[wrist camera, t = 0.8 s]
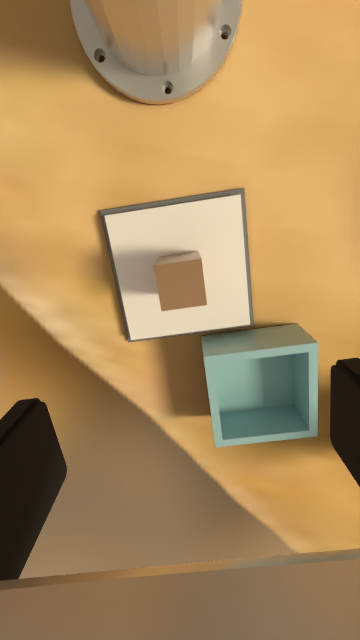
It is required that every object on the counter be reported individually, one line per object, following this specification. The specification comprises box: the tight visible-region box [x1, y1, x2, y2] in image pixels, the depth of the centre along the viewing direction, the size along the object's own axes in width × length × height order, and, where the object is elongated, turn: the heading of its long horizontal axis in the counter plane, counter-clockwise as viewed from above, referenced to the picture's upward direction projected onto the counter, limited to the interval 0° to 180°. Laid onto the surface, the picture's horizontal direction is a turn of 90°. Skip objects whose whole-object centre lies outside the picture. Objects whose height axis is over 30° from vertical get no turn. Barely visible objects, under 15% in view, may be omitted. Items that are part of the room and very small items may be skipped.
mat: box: [100, 188, 254, 342], centre depth 29 cm, size 13×13×1 cm
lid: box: [105, 194, 250, 340], centre depth 26 cm, size 12×12×6 cm
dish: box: [201, 323, 318, 447], centre depth 30 cm, size 10×10×5 cm
